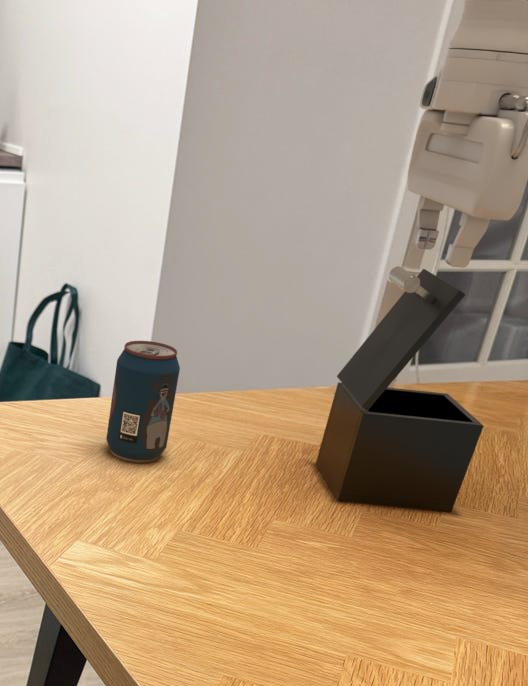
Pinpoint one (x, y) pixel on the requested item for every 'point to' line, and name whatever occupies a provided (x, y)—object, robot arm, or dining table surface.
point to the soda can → (142, 401)
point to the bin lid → (399, 334)
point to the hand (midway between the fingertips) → (438, 256)
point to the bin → (398, 449)
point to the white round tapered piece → (393, 291)
